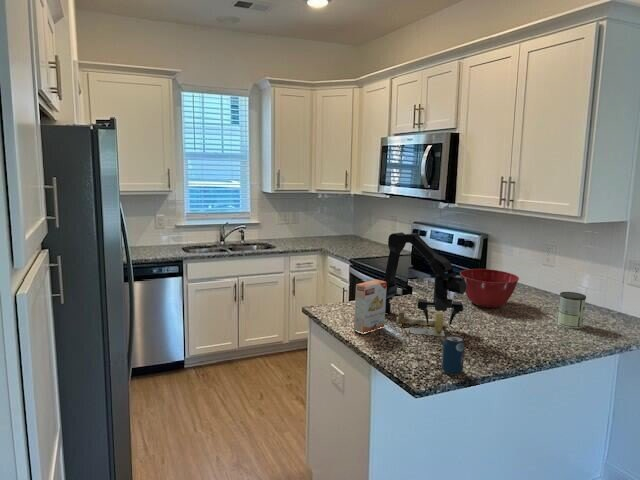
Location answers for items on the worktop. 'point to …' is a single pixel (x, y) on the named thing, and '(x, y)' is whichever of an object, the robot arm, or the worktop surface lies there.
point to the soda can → (453, 355)
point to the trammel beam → (413, 320)
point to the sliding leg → (438, 320)
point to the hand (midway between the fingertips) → (438, 324)
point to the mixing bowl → (489, 286)
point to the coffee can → (571, 309)
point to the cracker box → (370, 305)
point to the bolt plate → (427, 331)
